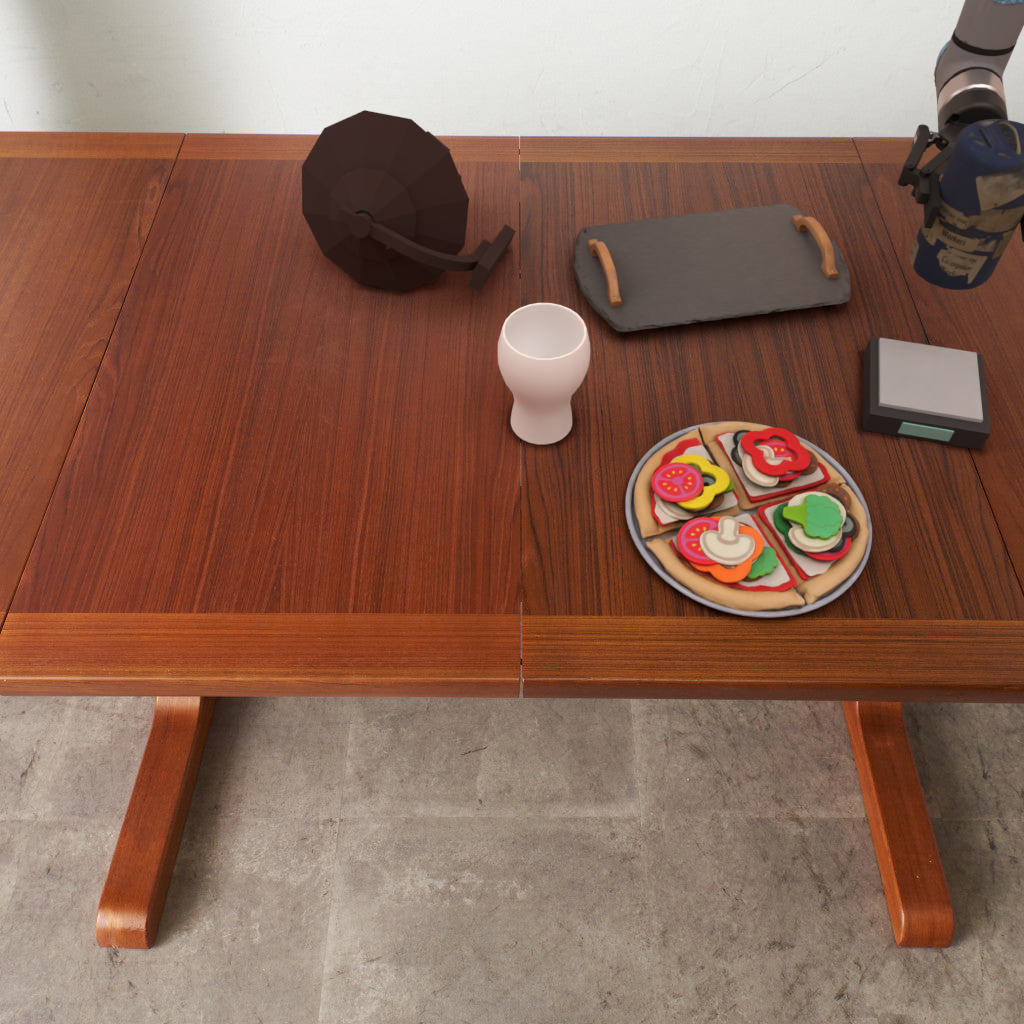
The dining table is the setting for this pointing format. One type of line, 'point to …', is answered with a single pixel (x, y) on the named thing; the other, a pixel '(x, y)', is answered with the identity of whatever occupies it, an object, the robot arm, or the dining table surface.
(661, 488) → the toy pizza
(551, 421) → the cup
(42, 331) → the dining table surface
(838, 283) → the serving tray
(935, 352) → the scale
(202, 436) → the dining table surface
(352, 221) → the dark brown piece
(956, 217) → the canister
